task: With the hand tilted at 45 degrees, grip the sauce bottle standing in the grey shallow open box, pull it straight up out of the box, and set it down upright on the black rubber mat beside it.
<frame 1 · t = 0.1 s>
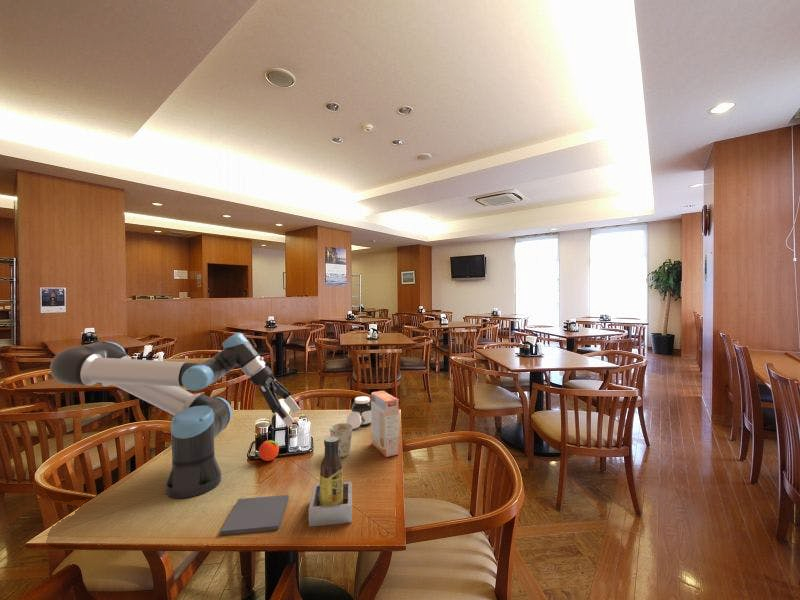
hand: (294, 417, 129), 15 cm above the table, tool tilted 35°, fingers open, 13 cm apart
mug: (340, 456, 131), on the table
sauce bottle: (331, 511, 98), resting in grey shallow open box
spread jar: (360, 425, 162), on the table
grey shallow open box: (331, 510, 98), on the table
rubber mat: (257, 515, 97), on the table
clementine: (270, 460, 129), on the table
cracker box: (385, 449, 136), on the table
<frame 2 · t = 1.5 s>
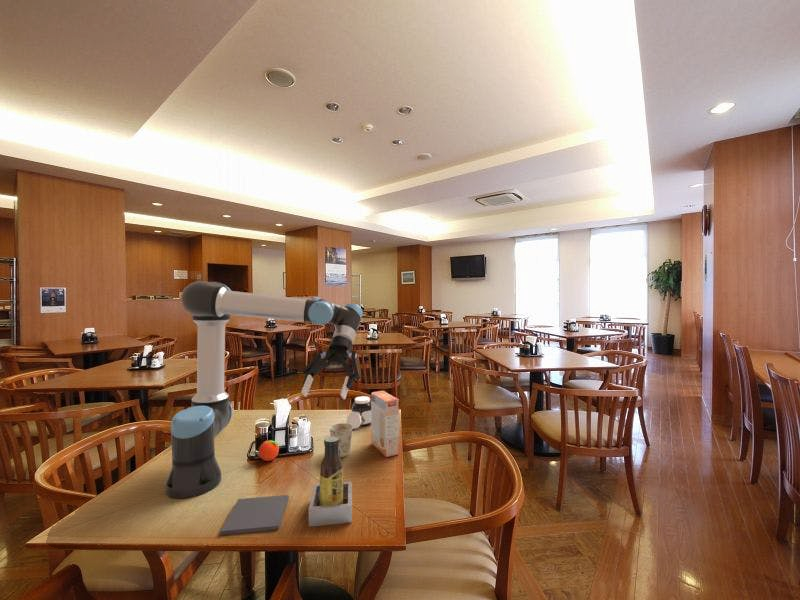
hand: (322, 395, 111), 28 cm above the table, tool tilted 45°, fingers open, 13 cm apart
nothing on the table moved.
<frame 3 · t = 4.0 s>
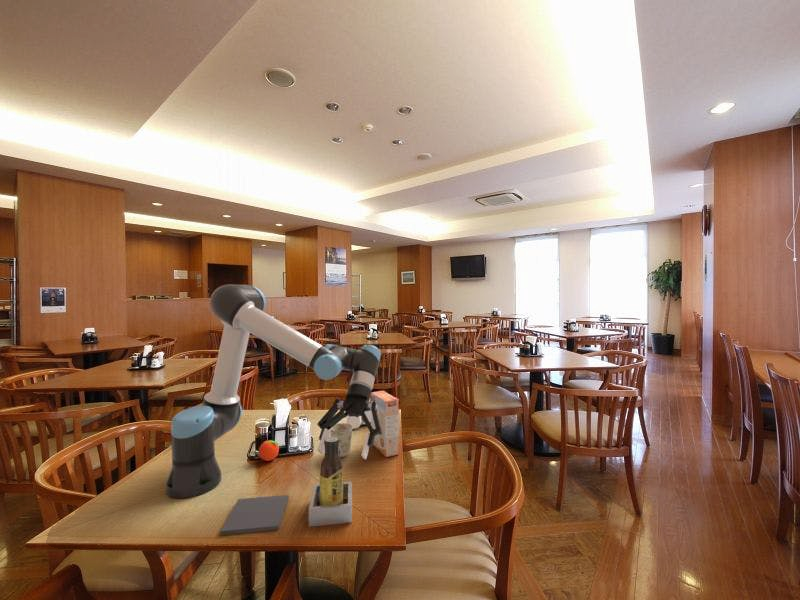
hand: (341, 454, 101), 14 cm above the table, tool tilted 45°, fingers open, 13 cm apart
nothing on the table moved.
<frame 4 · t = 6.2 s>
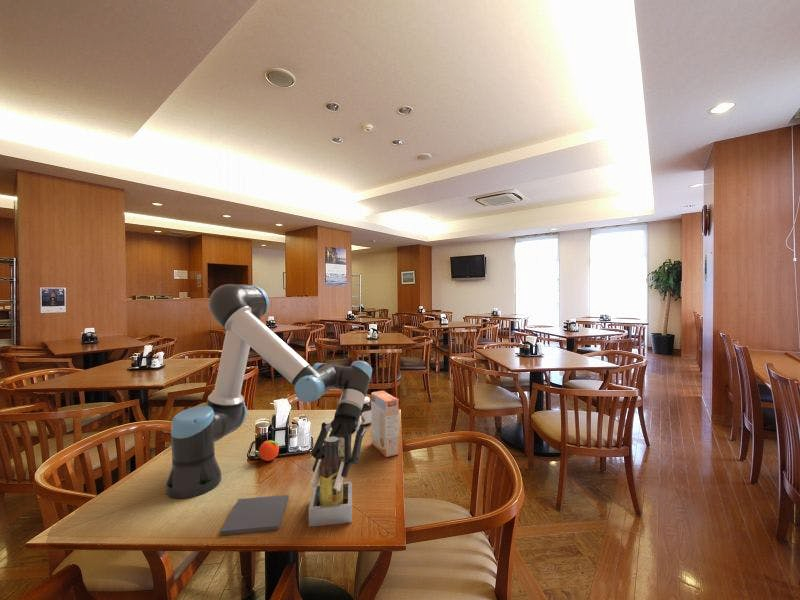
hand: (325, 487, 95), 8 cm above the table, tool tilted 45°, fingers closed on sauce bottle, 6 cm apart
sauce bottle: (331, 511, 98), resting in grey shallow open box, touching gripper
everything else where it was.
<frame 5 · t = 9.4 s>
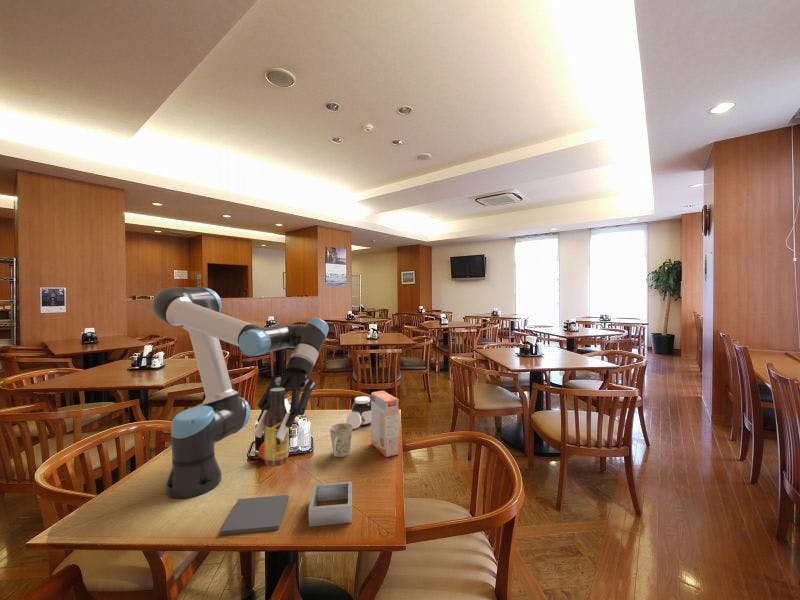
hand: (268, 436, 93), 23 cm above the table, tool tilted 45°, fingers closed on sauce bottle, 6 cm apart
sauce bottle: (276, 462, 96), point 14 cm above the table, touching gripper
everything else where it was.
when the fingers open (10 cm above the table, at t = 12.6 s): sauce bottle stays where it is, resting on rubber mat.
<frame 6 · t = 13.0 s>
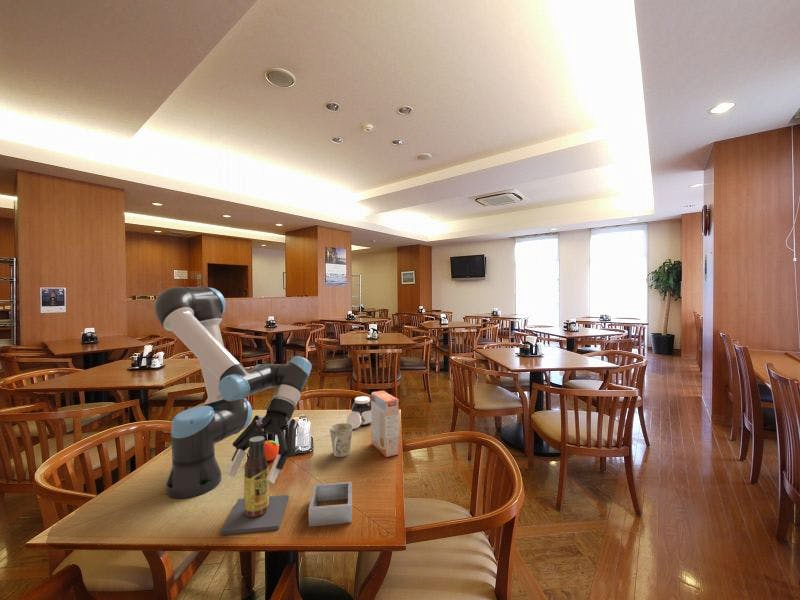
hand: (250, 478, 94), 11 cm above the table, tool tilted 45°, fingers open, 12 cm apart
sauce bottle: (257, 511, 97), point 1 cm above the table, touching rubber mat
everything else where it was.
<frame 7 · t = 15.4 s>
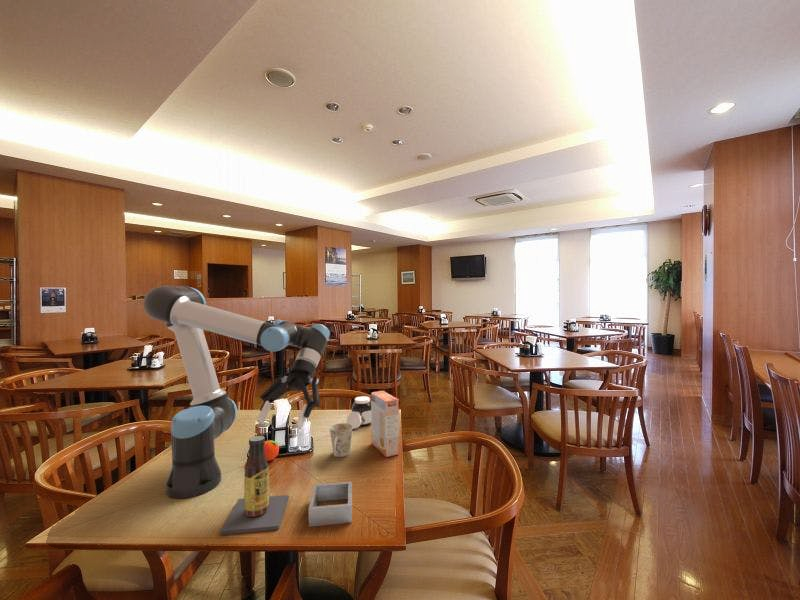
hand: (278, 424, 106), 21 cm above the table, tool tilted 45°, fingers open, 13 cm apart
nothing on the table moved.
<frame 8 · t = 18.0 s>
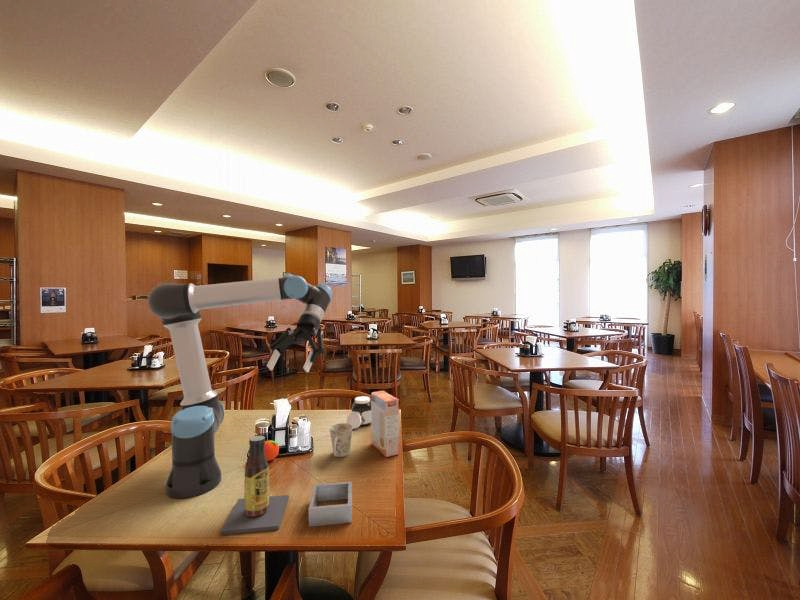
hand: (287, 369, 115), 36 cm above the table, tool tilted 45°, fingers open, 13 cm apart
nothing on the table moved.
at the end: sauce bottle inside the target area on the rubber mat (0.1 cm from its centre), point 0.8 cm above the rubber mat's base; sauce bottle tilted 1°; the gripper is holding nothing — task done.
